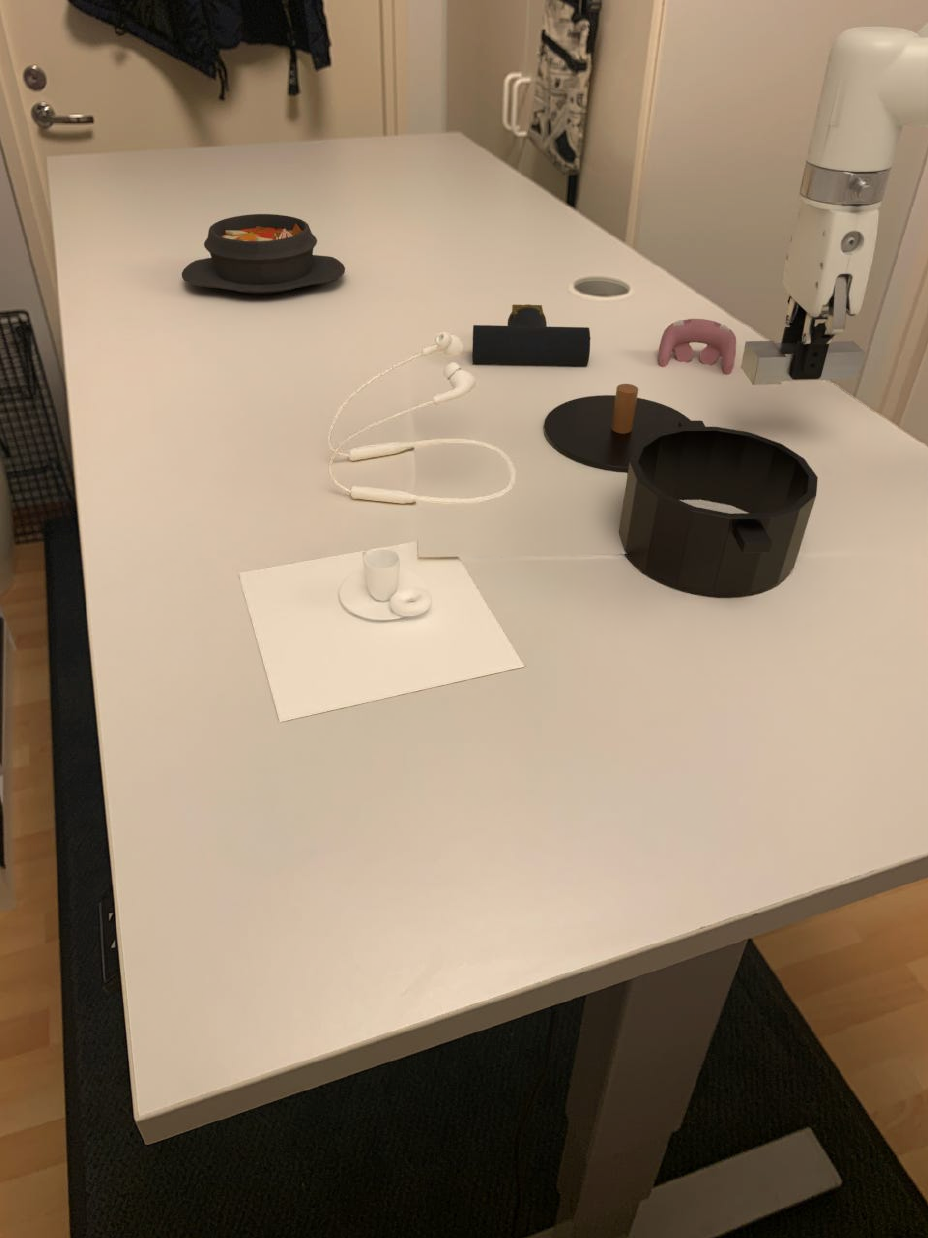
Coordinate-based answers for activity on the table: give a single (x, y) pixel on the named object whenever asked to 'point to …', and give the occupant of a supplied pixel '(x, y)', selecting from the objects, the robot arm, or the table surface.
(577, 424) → the lid
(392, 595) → the teacup and saucer
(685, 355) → the video game controller
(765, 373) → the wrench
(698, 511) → the pot
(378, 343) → the table surface
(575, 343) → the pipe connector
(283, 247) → the casserole
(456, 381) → the earphone
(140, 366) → the table surface
